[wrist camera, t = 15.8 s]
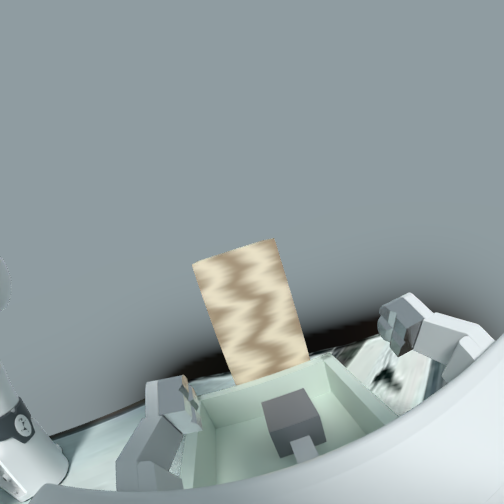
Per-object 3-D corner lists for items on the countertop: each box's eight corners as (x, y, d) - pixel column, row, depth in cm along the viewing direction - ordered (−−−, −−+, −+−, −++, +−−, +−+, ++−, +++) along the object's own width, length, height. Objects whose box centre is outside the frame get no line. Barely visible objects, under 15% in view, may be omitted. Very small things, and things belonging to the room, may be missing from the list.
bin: (207, 563, 11) (171, 538, 11) (208, 429, 37) (192, 397, 37) (428, 489, 13) (436, 451, 13) (337, 387, 39) (329, 352, 39)
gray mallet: (300, 523, 15) (288, 502, 15) (271, 427, 33) (261, 402, 33) (360, 500, 16) (357, 477, 15) (311, 413, 33) (303, 387, 33)
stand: (249, 415, 39) (191, 264, 37) (244, 388, 49) (198, 261, 47) (318, 391, 40) (274, 238, 39) (302, 368, 50) (263, 240, 49)
